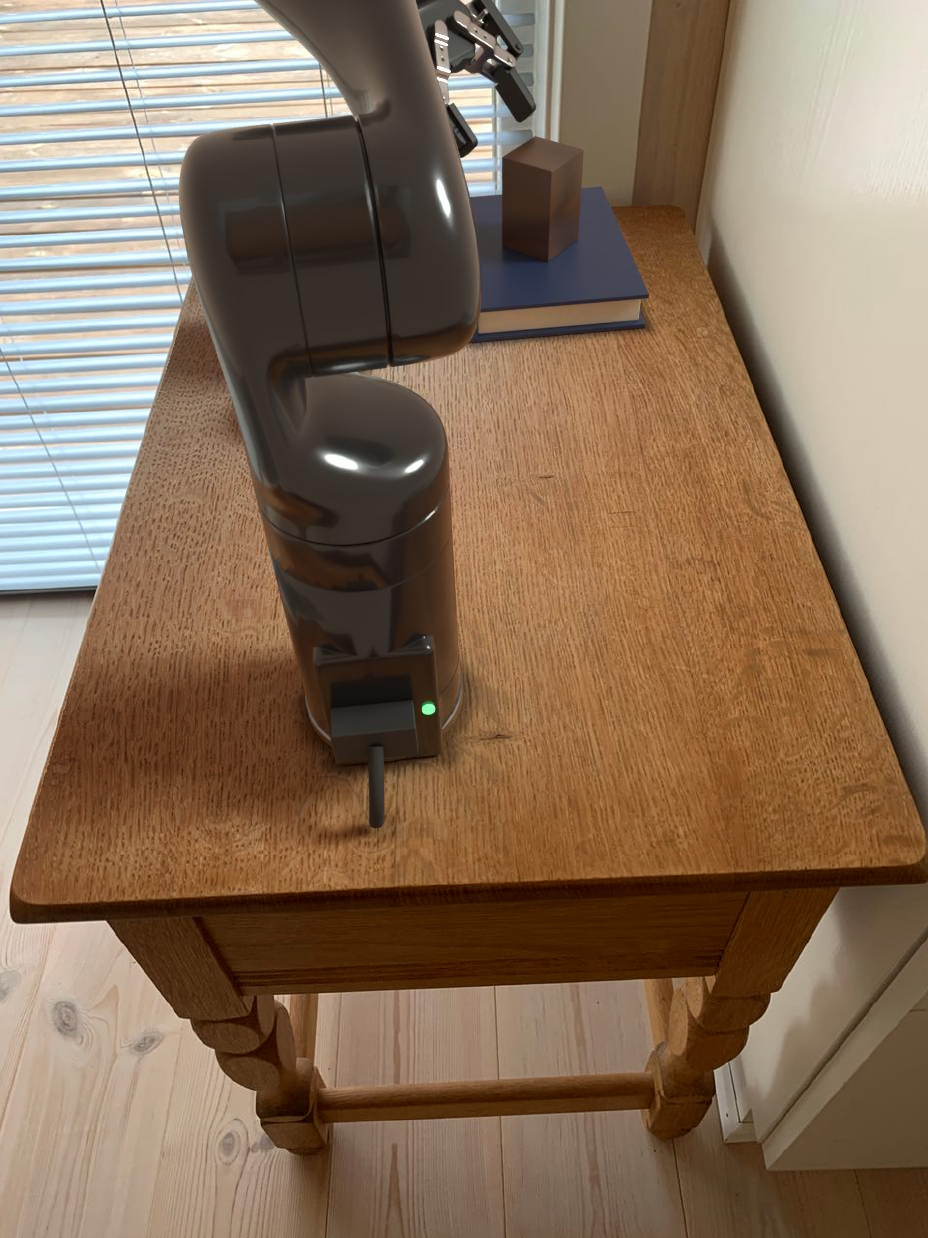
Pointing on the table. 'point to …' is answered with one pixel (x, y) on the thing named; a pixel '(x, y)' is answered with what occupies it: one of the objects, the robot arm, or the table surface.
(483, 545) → the table surface
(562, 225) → the walnut block
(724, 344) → the table surface
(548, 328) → the book
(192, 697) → the table surface
